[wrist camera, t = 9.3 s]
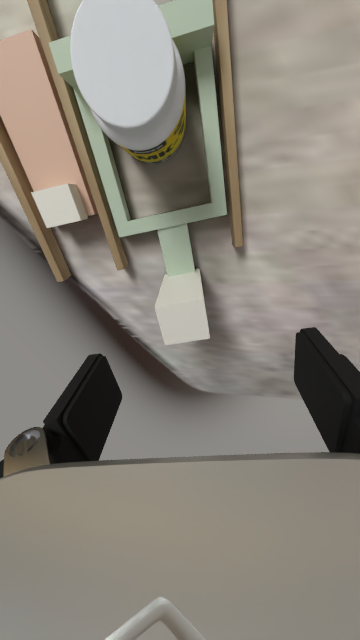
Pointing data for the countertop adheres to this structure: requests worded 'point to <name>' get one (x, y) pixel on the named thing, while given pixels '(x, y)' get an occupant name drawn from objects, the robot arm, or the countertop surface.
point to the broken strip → (42, 132)
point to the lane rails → (6, 153)
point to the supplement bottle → (130, 75)
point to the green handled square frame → (182, 278)
